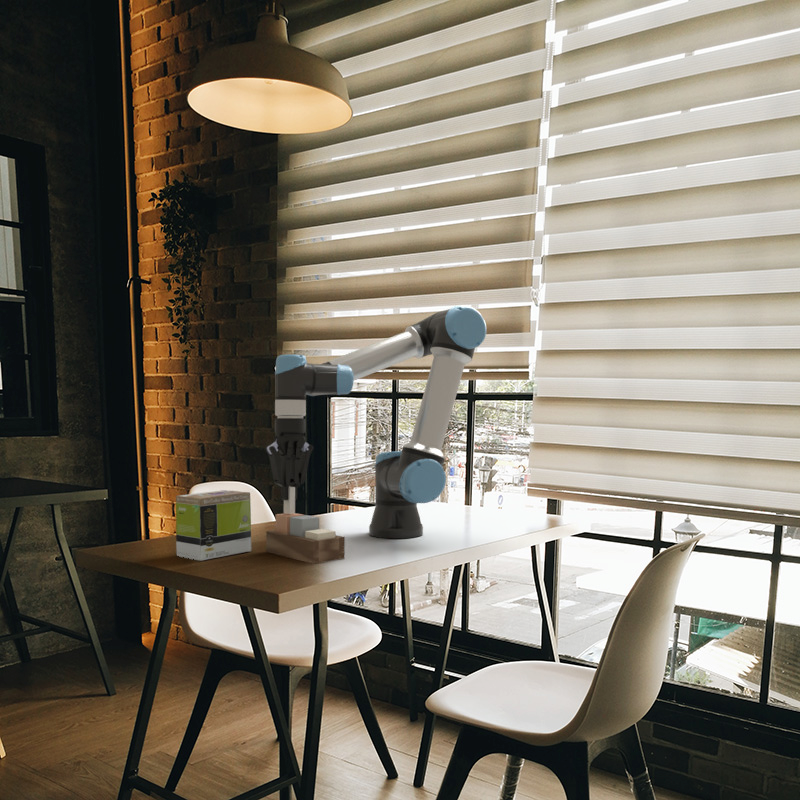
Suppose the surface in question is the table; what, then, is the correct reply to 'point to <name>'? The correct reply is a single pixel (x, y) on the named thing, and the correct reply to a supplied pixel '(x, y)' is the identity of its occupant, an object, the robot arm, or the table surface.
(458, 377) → the robot arm
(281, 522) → the salmon pink block
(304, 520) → the blue-grey block
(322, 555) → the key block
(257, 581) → the table surface
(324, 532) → the cream block
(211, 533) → the tea box
